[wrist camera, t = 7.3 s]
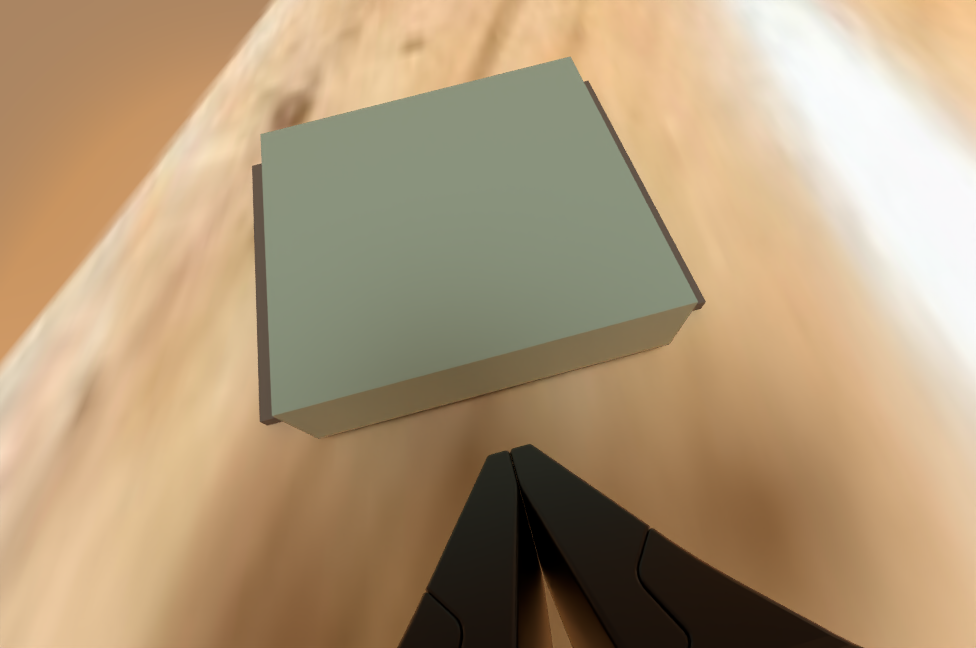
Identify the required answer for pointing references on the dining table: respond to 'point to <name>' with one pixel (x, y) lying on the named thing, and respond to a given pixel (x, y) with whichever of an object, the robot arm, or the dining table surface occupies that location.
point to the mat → (261, 281)
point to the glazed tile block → (455, 250)
